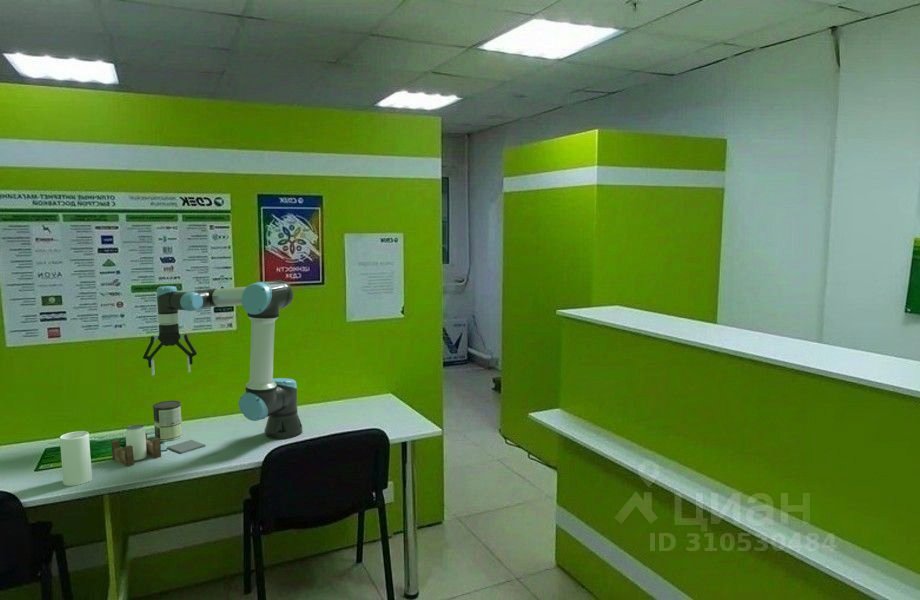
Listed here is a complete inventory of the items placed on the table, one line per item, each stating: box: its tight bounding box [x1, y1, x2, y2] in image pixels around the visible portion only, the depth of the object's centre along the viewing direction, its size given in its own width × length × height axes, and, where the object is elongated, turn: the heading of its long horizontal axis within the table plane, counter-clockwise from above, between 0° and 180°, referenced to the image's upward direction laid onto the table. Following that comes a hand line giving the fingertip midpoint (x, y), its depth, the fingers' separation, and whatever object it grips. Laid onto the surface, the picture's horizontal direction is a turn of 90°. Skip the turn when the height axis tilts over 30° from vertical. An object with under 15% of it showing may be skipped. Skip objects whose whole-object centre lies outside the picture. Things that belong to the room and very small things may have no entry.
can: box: [125, 424, 148, 462], centre depth 224 cm, size 6×6×12 cm
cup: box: [59, 430, 93, 487], centre depth 203 cm, size 8×8×16 cm
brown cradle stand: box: [110, 432, 162, 467], centre depth 224 cm, size 12×12×7 cm
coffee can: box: [152, 400, 183, 442], centre depth 246 cm, size 10×10×14 cm
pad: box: [166, 439, 206, 454], centre depth 235 cm, size 10×10×1 cm
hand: (171, 373), depth 253 cm, fingers open, 13 cm apart
